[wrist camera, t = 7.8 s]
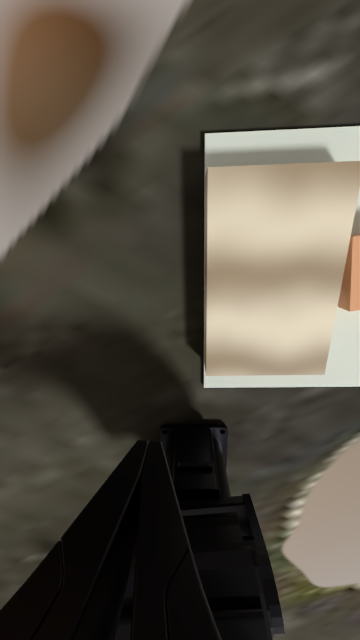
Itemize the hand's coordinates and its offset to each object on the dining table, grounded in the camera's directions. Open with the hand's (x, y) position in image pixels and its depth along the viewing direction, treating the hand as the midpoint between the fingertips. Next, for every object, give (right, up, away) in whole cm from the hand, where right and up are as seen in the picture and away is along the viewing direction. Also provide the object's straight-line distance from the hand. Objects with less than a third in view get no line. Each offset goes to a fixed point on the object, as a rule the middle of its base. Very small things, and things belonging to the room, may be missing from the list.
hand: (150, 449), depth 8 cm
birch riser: (+7, +8, +10) cm, 14 cm away
